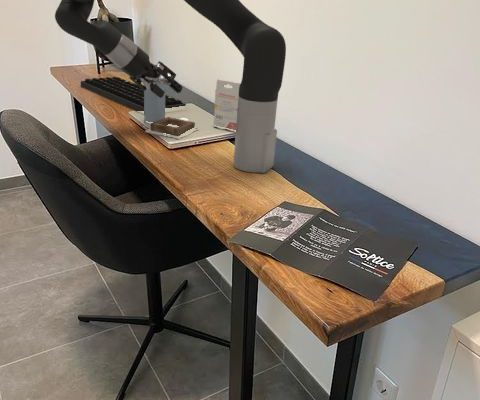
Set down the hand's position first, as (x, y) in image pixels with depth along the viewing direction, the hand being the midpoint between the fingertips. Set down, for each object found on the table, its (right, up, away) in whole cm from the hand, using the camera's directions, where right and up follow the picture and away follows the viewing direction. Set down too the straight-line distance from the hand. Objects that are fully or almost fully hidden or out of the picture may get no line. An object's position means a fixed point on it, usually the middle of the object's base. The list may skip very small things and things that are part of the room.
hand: (171, 92), depth 138 cm
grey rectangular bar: (-7, -7, +12) cm, 15 cm away
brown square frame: (0, -10, +5) cm, 11 cm away
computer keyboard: (-20, +6, +38) cm, 44 cm away
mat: (0, -10, +5) cm, 11 cm away
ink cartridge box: (+16, -9, +12) cm, 22 cm away
